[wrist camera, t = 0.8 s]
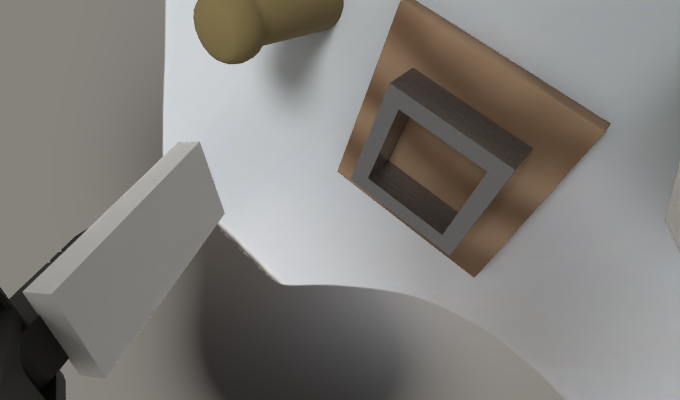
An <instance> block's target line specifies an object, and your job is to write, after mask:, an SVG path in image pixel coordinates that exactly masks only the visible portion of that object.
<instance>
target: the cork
mask: <svg viewBox="0 0 680 400" xmlns="http://www.w3.org/2000/svg"><path fill="white" fill-rule="evenodd" d="M342 9H343V0H198V1H197V3H196V6H195V9H194V24H195V29H196V32H197V35H198V37H199V39H200V41H201V43H202V45H203V47H204V48H205V49H206V50H207V52H208V53H209V54H210V55H211V56H212V57H214V58H215V59H216V60H218V61H221V62H223V63H227V64H239V63H244V62H246V61H248V60H249V59H251V58H253V57H254V56H255V55H256V54H257V53H258V52H259V51H260V49H261V48H262V46H264V45H268V44H272V43H276V42H279V41H283V40H287V39H291V38H295V37H299V36H303V35H307V34H311V33H315V32H319V31H323V30H327V29H329V28H330V27H332V26H334V25H335V24H336V22H337V21H338V19H339V18H340V16H341V12H342Z"/></svg>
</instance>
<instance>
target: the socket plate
mask: <svg viewBox="0 0 680 400" xmlns="http://www.w3.org/2000/svg"><path fill="white" fill-rule="evenodd" d="M609 125H610V123H608V122H607V121H605V120H603V119H602V118H600V117H599V116H597V115H596V114H594V113H592V112H591V111H589V110H588V109H586V108H585V107H583V106H581V105H580V104H578V103H577V102H575V101H573V100H572V99H570V98H569V97H567V96H566V95H564V94H562V93H561V92H559V91H558V90H556V89H554V88H553V87H551V86H550V85H548V84H547V83H545V82H543V81H542V80H540V79H539V78H537V77H535V76H534V75H532V74H531V73H529V72H528V71H526V70H524V69H523V68H521V67H520V66H518V65H517V64H515V63H513V62H512V61H510V60H509V59H507V58H505V57H504V56H502V55H501V54H499V53H498V52H496V51H494V50H493V49H491V48H490V47H488V46H486V45H485V44H483V43H482V42H480V41H479V40H477V39H475V38H474V37H472V36H471V35H469V34H468V33H466V32H464V31H463V30H461V29H460V28H458V27H456V26H455V25H453V24H452V23H450V22H449V21H447V20H445V19H444V18H442V17H441V16H439V15H437V14H436V13H434V12H433V11H431V10H430V9H428V8H426V7H425V6H423V5H422V4H420V3H418V2H417V1H415V0H402V1H400V4H399V6H398V9H397V12H396V15H395V17H394V20H393V23H392V25H391V28H390V31H389V34H388V36H387V39H386V42H385V44H384V47H383V50H382V52H381V55H380V58H379V61H378V63H377V66H376V69H375V71H374V74H373V77H372V80H371V82H370V85H369V88H368V90H367V93H366V96H365V99H364V101H363V104H362V107H361V109H360V112H359V115H358V117H357V120H356V123H355V126H354V128H353V131H352V134H351V136H350V139H349V142H348V145H347V147H346V150H345V153H344V155H343V158H342V161H341V164H340V166H339V169H338V172H339V173H340V174H341V175H343V176H344V177H345V178H346V179H348V180H349V181H350V182H352V183H353V184H354V185H355V186H357V187H358V188H359V189H361V190H362V191H363V192H364V193H366V194H367V195H368V196H370V197H371V198H372V199H373V200H375V201H376V202H377V203H379V204H380V205H381V206H383V207H384V208H385V209H386V210H388V211H389V212H390V213H392V214H393V215H394V216H395V217H397V218H398V219H399V220H401V221H402V222H403V223H404V224H406V225H407V226H408V227H410V228H411V229H412V230H413V231H415V232H416V233H417V234H419V235H420V236H421V237H422V238H424V239H425V240H426V241H428V242H429V243H430V244H432V245H433V246H434V247H435V248H437V249H438V250H439V251H441V252H442V253H443V254H444V255H446V256H447V257H448V258H450V259H451V260H452V261H453V262H455V263H456V264H457V265H459V266H460V267H461V268H462V269H464V270H465V271H466V272H468V273H469V274H470V275H471V276H473V277H475V276H476V275H477V274H478V273H479V272H480V271H481V270H482V269H483V267H484V266H485V265H486V264H487V263H488V262H489V261H490V260H491V259H492V257H493V256H494V255H495V254H496V253H497V252H498V251H499V250H500V248H501V247H502V246H503V245H504V244H505V243H506V242H507V241H508V240H509V238H510V237H511V236H512V235H513V234H514V233H515V232H516V231H517V230H518V228H519V227H520V226H521V225H522V224H523V223H524V222H525V221H526V219H527V218H528V217H529V216H530V215H531V214H532V213H533V212H534V211H535V209H536V208H537V207H538V206H539V205H540V204H541V203H542V202H543V201H544V199H545V198H546V197H547V196H548V195H549V194H550V193H551V192H552V191H553V189H554V188H555V187H556V186H557V185H558V184H559V183H560V182H561V180H562V179H563V178H564V177H565V176H566V175H567V174H568V173H569V172H570V170H571V169H572V168H573V167H574V166H575V165H576V164H577V163H578V162H579V160H580V159H581V158H582V157H583V156H584V155H585V154H586V153H587V151H588V150H589V149H590V148H591V147H592V146H593V145H594V144H595V143H596V141H597V140H598V139H599V138H600V137H601V136H602V135H603V134H604V133H605V131H606V130H607V128H608V127H609Z"/></svg>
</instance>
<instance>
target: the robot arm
mask: <svg viewBox="0 0 680 400" xmlns="http://www.w3.org/2000/svg"><path fill="white" fill-rule="evenodd" d="M224 214H225V213H224V210H223V207H222V204H221V201H220V199H219V196H218V193H217V190H216V187H215V184H214V181H213V178H212V176H211V173H210V170H209V167H208V164H207V161H206V158H205V155H204V153H203V150H202V147H201V144H200V142H178V143H177V144H176V145H175V146H174V147H173V148H172V149H171V150H170V151H169V152H168V153H167V154H166V155H164V156H163V157H162V159H160V160H159V161H158V162H157V163H156V164H155V165H154V166H153V167H152V168H151V169H150V170H149V171H148V172H147V173H146V174H145V175H144V176H143V177H142V178H141V179H140V180H138V181H137V182H136V183H135V184H134V185H133V186H132V187H131V188H130V189H129V190H128V191H127V192H126V193H125V194H124V195H123V196H122V197H121V198H120V199H119V200H118V201H117V202H116V203H115V204H113V205H112V206H111V207H110V208H109V209H108V210H107V211H106V212H105V213H104V214H103V215H102V216H101V217H100V218H99V219H98V220H97V221H96V222H95V223H94V224H93V225H92V226H91V227H89V228H88V229H86V230H85V231H83V232H82V233H80V234H78V235H77V236H75V237H74V238H73V239H72V240H71V241H70V242H69V243H68V244H67V245H66V246H65V247H64V248H62V252H58V253H57V254H56V255H55V256H54V257H53V258H52V259H51V261H50V263H47V264H46V265H45V266H44V267H43V268H42V269H40V270H39V271H38V272H37V273H36V274H35V275H34V276H33V277H32V278H31V279H30V280H29V281H28V282H27V283H26V284H25V285H23V287H21V288H20V289H19V290H18V291H17V292H16V293H15V294H14V295H13V296H12V297H11V298H10V299H8V297H7V296H6V295H5V293H4V292H3V290H2V289H1V288H0V400H66V391H65V390H66V386H65V385H66V381H65V378H64V375H63V374H62V372H61V371H60V369H61V367H62V366H63V365H64V364H65V362H66V361H67V360H68V359H69V360H70V361H71V363H72V364H73V366H74V367H75V369H76V370H77V372H78V373H79V374H80V375H84V376H92V377H99V378H107V377H108V375H109V374H110V373H111V371H112V370H113V368H114V367H115V366H116V364H117V363H118V361H119V360H120V359H121V357H122V356H123V354H124V353H125V351H126V350H127V349H128V347H129V346H130V345H131V343H132V342H133V340H134V339H135V337H136V336H137V335H138V334H139V332H140V331H141V329H142V328H143V326H144V325H145V324H146V322H147V321H148V320H149V318H150V317H151V315H152V314H153V313H154V311H155V310H156V308H157V307H158V306H159V304H160V303H161V301H162V300H163V299H164V297H165V296H166V294H167V293H168V291H169V290H170V289H171V287H172V286H173V285H174V283H175V282H176V281H177V279H178V278H179V276H180V275H181V273H182V272H183V271H184V269H185V268H186V266H187V265H188V264H189V262H190V261H191V260H192V258H193V257H194V255H195V254H196V253H197V251H198V250H199V248H200V247H201V246H202V244H203V243H204V241H205V240H206V239H207V237H208V236H209V235H210V233H211V232H212V230H213V229H214V228H215V226H216V225H217V223H218V222H219V221H220V219H221V218H222V216H223V215H224ZM665 221H666V223H667V226H668V228H669V230H670V232H671V234H672V236H673V239H674V241H675V243H676V245H677V247H678V249H679V251H680V162H679V166H678V170H677V174H676V178H675V182H674V186H673V190H672V194H671V199H670V203H669V207H668V211H667V215H666V219H665Z"/></svg>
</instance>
